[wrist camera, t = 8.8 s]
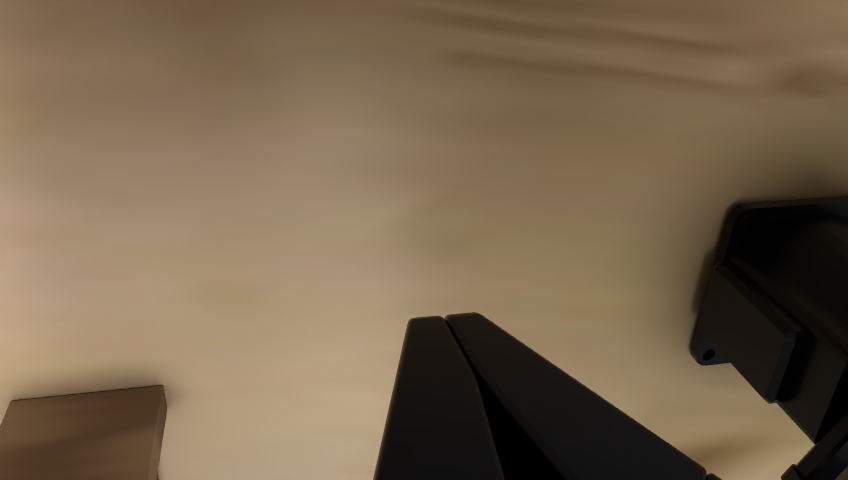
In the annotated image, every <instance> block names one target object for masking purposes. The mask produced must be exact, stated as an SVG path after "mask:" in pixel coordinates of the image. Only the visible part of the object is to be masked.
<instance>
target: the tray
mask: <svg viewBox="0 0 848 480" xmlns="http://www.w3.org/2000/svg"><path fill="white" fill-rule="evenodd" d="M166 414H167V406H166V401H165V395H164V390H163V385H162V386H153V387H143V388H134V389H124V390H114V391H105V392H95V393H86V394H76V395H66V396H57V397H47V398H38V399H28V400H18V401H11V402H10V405H9V407H8V409H7V412H6V414H5V416H4V419H3V421H2V423H1V426H0V480H158V476H157V473H158V467H159V460H160V453H161V447H162V440H163V433H164V427H165V420H166Z"/></svg>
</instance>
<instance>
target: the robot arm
mask: <svg viewBox="0 0 848 480" xmlns="http://www.w3.org/2000/svg"><path fill="white" fill-rule="evenodd" d="M746 216H747V218H746V219H745V220H744V221H743V222H742V223H741V221H742V219H743V218H744V217H746ZM704 352H705V353H704ZM691 355H692V357H693V358H694V359H695V360H696V362H697V363H698V364H700V365H714V364H723V363H731V364H732V365H733V366H734V367H735V368H736V369H737V370H738V371H739V373H740V374H741V375H742V376H743V377H744V378H745V379H746V380H747V381H748V382H749V384H750V385H751V386H752V387H753V388H754V389H755V390H756V391H757V392H758V393H759V395H760V396H761V397H762V398H763V399H764V400H765V401H766V402H768V403H769V404H770V403H777V404H778V405H779V406H780V407H781V408H782V409H783V410H784V411H785V413H786V414H787V415H788V416H789V417H790V418H791V419H792V420H793V421H794V422H795V423H796V424H797V425H798V427H799V428H800V429H801V430H802V431H803V432H804V433H805V434H806V435H807V436H808V437H809V438H810V440H811V441H812V442H813V443H814V444H815V445H814V446H813V447H812V448H811V450H810V451H809V452H808V453H807V454H806V455H805V456H804V457H803V458H802V459H801V460H800V461H799V462H798V464H797V465H795V464H792V465H791V466H790V467H789V468H788V469H787V471H786V472H785V473H784V474H783V475H782V476H781V479H782V480H848V196H845V197H830V198H815V199H800V200H785V201H770V202H755V203H743V204H739V205H737V206H736V207H734V208H733V209H732V210H731V211H730V212H729V214H728V217H727V219H726V223H725V227H724V230H723V234H722V238H721V241H720V245H719V249H718V252H717V256H716V260H715V263H714V267H713V271H712V274H711V278H710V281H709V285H708V289H707V292H706V296H705V300H704V303H703V307H702V311H701V314H700V318H699V322H698V325H697V329H696V332H695V336H694V340H693V343H692V347H691ZM373 480H722V479H720V478H719V477H717V476H716V475H714V474H712V473H710V474H708V475H707V476H706V470H705V468H704V467H702V466H701V465H699V464H698V463H696V462H695V461H693V460H692V459H691V458H689V457H688V456H686V455H685V454H683V453H682V452H680V451H679V450H677V449H676V448H675V447H673V446H672V445H670V444H669V443H667V442H666V441H664V440H663V439H661V438H660V437H659V436H657V435H656V434H654V433H653V432H651V431H650V430H648V429H647V428H645V427H644V426H643V425H641V424H640V423H638V422H637V421H635V420H634V419H632V418H631V417H629V416H628V415H627V414H625V413H624V412H622V411H621V410H619V409H618V408H616V407H615V406H613V405H612V404H611V403H609V402H608V401H606V400H605V399H603V398H602V397H600V396H599V395H597V394H596V393H595V392H593V391H592V390H590V389H589V388H587V387H586V386H584V385H583V384H581V383H580V382H579V381H577V380H576V379H574V378H573V377H571V376H570V375H568V374H567V373H565V372H564V371H563V370H561V369H560V368H558V367H557V366H555V365H554V364H552V363H551V362H549V361H548V360H547V359H545V358H544V357H542V356H541V355H539V354H538V353H536V352H535V351H533V350H532V349H531V348H529V347H528V346H526V345H525V344H523V343H522V342H520V341H519V340H517V339H516V338H515V337H513V336H512V335H510V334H509V333H507V332H506V331H504V330H503V329H501V328H500V327H499V326H497V325H496V324H494V323H493V322H491V321H490V320H488V319H487V318H485V317H484V316H483V315H481V314H479V313H476V312H472V313H462V314H451V315H447V316H446V317H445V318H443V317H441V316H429V317H418V318H412V319H410V320H409V321H408V324H407V329H406V333H405V338H404V342H403V347H402V351H401V356H400V360H399V365H398V369H397V374H396V378H395V383H394V388H393V392H392V397H391V401H390V406H389V410H388V415H387V419H386V424H385V428H384V433H383V437H382V442H381V447H380V451H379V456H378V460H377V465H376V469H375V474H374V478H373Z"/></svg>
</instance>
